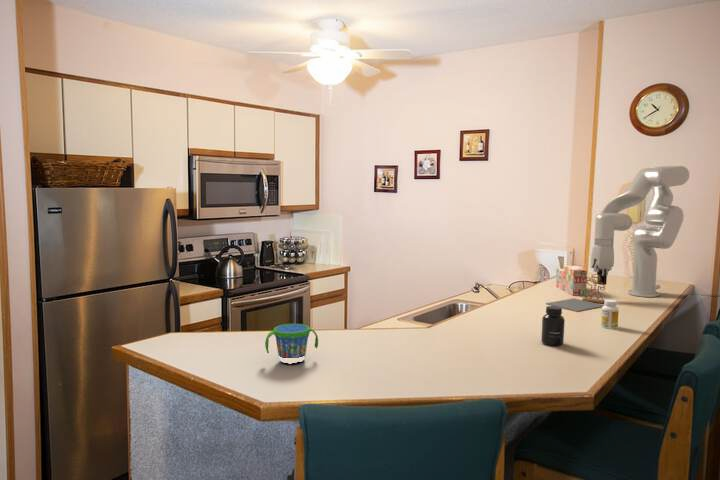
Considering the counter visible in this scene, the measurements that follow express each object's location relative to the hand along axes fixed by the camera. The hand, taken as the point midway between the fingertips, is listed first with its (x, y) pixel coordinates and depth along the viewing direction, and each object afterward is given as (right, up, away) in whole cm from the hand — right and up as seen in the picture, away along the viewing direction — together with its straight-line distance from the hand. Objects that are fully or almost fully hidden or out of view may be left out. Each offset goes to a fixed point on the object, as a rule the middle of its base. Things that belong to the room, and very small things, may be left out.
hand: (601, 284), depth 234 cm
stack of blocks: (-5, -5, +21) cm, 23 cm away
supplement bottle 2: (-16, -12, -41) cm, 46 cm away
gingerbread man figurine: (-4, -8, -2) cm, 9 cm away
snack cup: (-126, -17, -75) cm, 148 cm away
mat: (-15, -8, -7) cm, 18 cm away
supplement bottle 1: (-43, -15, -60) cm, 75 cm away
